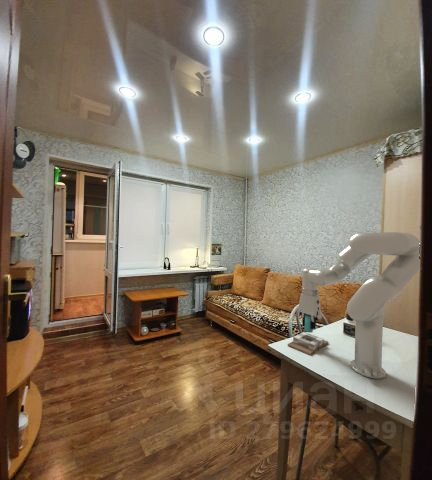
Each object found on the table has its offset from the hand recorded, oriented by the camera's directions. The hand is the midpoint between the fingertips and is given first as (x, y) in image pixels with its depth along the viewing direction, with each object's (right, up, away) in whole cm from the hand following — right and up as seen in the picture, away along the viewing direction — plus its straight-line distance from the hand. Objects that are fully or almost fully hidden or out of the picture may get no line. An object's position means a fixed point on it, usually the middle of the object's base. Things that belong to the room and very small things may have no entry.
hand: (308, 326), depth 117 cm
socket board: (0, -9, 0) cm, 9 cm away
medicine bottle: (+31, -10, +15) cm, 36 cm away
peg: (0, -2, 0) cm, 2 cm away
